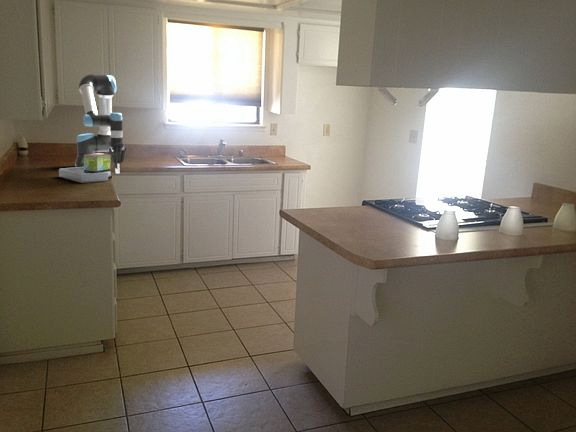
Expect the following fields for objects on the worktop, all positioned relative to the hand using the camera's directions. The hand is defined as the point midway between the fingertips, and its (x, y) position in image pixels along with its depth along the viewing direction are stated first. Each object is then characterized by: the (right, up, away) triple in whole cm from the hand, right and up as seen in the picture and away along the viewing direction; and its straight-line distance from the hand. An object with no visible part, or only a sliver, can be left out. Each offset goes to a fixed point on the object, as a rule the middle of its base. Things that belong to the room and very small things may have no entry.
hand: (117, 173), depth 344 cm
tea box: (-9, -4, -10) cm, 14 cm away
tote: (-16, -5, -17) cm, 23 cm away
